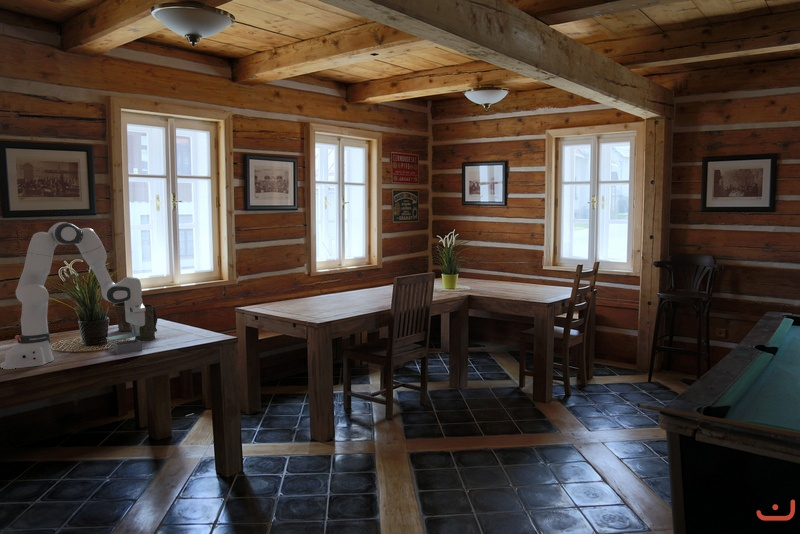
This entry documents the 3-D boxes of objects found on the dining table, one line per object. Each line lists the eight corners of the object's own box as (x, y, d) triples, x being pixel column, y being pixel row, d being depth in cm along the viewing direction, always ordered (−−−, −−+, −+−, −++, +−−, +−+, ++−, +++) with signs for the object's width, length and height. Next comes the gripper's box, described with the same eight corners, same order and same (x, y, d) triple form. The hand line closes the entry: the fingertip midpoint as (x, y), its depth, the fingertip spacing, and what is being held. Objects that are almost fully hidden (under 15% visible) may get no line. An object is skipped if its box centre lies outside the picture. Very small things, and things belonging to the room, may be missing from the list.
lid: (110, 341, 321) (110, 333, 320) (106, 339, 327) (105, 330, 326) (141, 336, 331) (140, 328, 330) (136, 334, 337) (135, 326, 336)
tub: (118, 355, 314) (117, 345, 313) (113, 352, 320) (112, 343, 319) (142, 351, 322) (141, 341, 321) (137, 348, 328) (136, 339, 327)
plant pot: (119, 333, 365) (118, 306, 364) (110, 329, 377) (108, 303, 375) (147, 329, 376) (146, 303, 374) (138, 325, 388) (136, 300, 386)
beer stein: (147, 342, 340) (146, 306, 340) (129, 342, 343) (129, 306, 342) (163, 338, 355) (162, 303, 355) (146, 338, 358) (145, 303, 357)
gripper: (121, 305, 337) (123, 330, 338) (134, 310, 321) (136, 336, 323) (133, 303, 341) (135, 328, 342) (146, 308, 325) (148, 334, 327)
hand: (135, 332), depth 332 cm, fingers closed on lid, 3 cm apart
